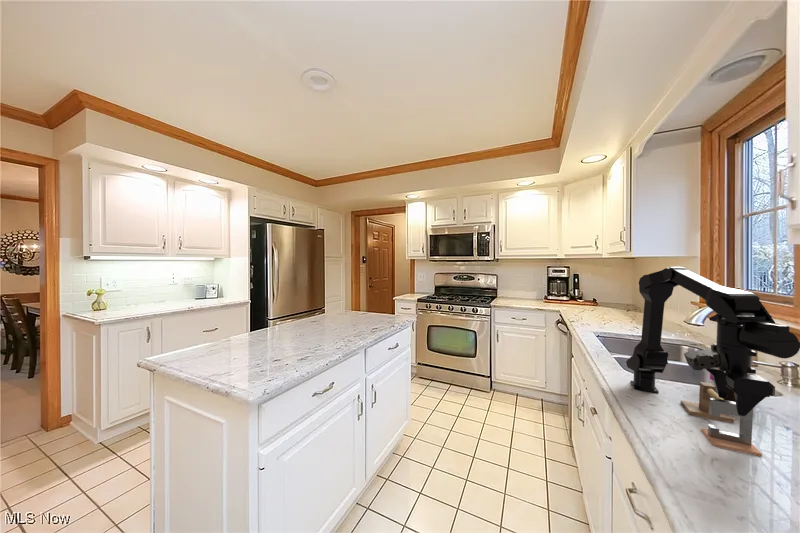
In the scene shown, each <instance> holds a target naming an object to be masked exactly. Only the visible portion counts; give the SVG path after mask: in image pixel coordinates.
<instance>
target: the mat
mask: <svg viewBox="0 0 800 533" xmlns="http://www.w3.org/2000/svg"><path fill="white" fill-rule="evenodd" d="M700 431H701V432H702V433H703V434H704V436H705V437H706V439H708V441H709V442H710V443H711V444H712V446H714V447H719V448H723V449H727V450H731V451H736V452H740V453H745V454H750V455H755V456H758V457H763V453H762V452H761V451H760V450H759V449H758V448H757V447H756V446H755V445H754V444H753V443H751V446H750V445H745V444H740V443H736V442H731V441H726V440H722V439H717V438H712V437H710V436H709V435H708V428H704V427H701V428H700Z"/></svg>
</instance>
